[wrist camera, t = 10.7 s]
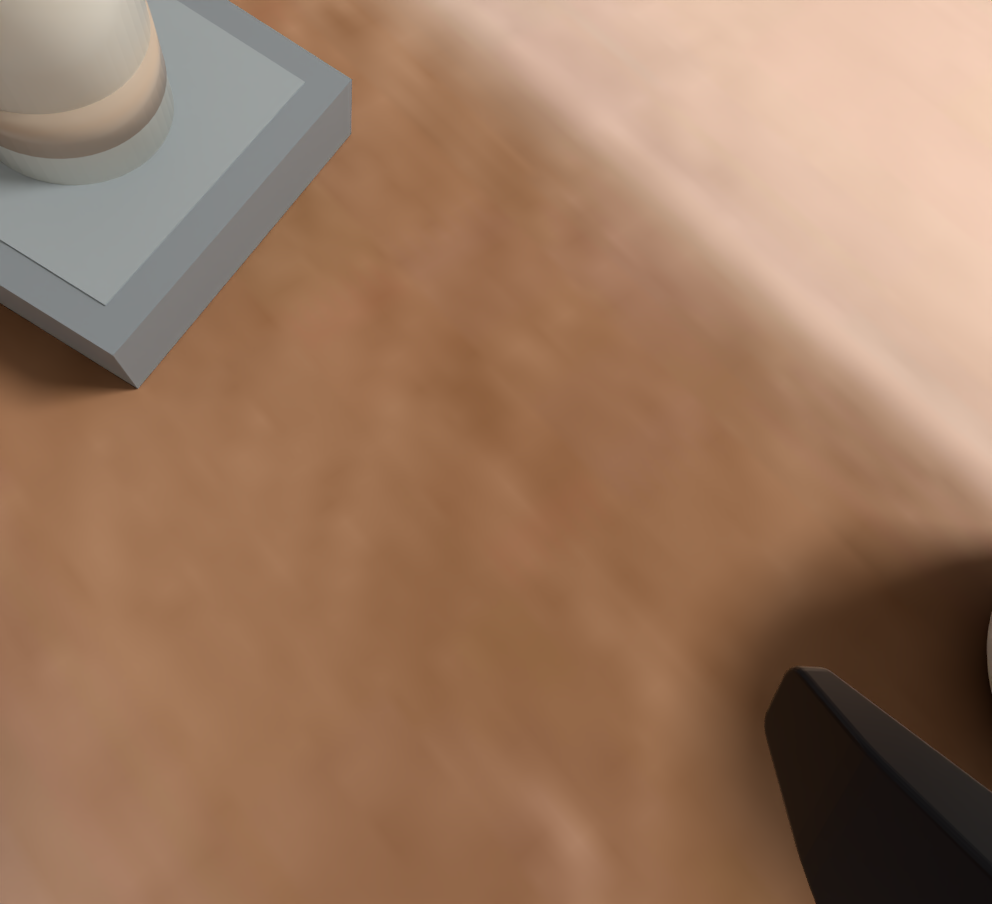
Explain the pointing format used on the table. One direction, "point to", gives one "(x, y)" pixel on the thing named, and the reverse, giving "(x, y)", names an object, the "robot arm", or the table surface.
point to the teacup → (989, 652)
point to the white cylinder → (81, 89)
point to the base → (175, 192)
